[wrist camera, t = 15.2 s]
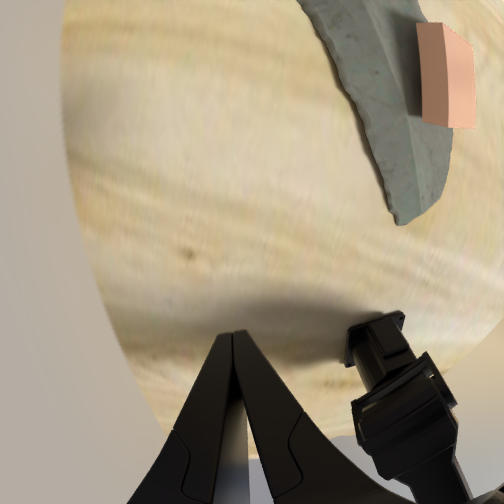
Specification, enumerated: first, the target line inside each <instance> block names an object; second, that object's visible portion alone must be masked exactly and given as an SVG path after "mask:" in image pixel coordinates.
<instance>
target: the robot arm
mask: <svg viewBox="0 0 504 504" xmlns="http://www.w3.org/2000/svg"><path fill="white" fill-rule="evenodd" d="M404 320H405V315H404V313H403V312H400V313H397V314H394V315H390V316H387V317H384V318H381V319H378V320H374V321H371V322H368V323H364V324H361V325H357V326H354V327H351V328H350V329H349V330H348V332H347V342H346V351H345V359H344V365H345V367H346V368H349V367H352V366H356V367H357V370H358V372H359V374H360V377H361V379H362V381H363V384H364V386H365V388H366V391H367V393H366V394H365V395H363V396H361V397H360V398H358V399H355V400H353V401H351V406H352V415H353V421H354V427H355V432H356V438H357V443H358V445H359V446H361V447H362V448H363V450H364V451H365V452H366V453H367V454H368V455H370V456H372V459H373V461H374V464H375V466H376V469H377V472H378V474H379V475H380V476H381V477H383V478H384V479H385V480H391V479H395V480H397V481H399V482H401V483H403V484H405V485H407V486H408V487H409V488H410V490H411V492H412V494H413V496H414V499H415V501H416V503H415V502H413V501H410V500H408V499H406V498H404V497H402V496H400V495H397V494H395V493H393V492H391V491H389V490H387V489H386V488H384V487H383V486H381V485H379V484H378V483H377V482H375V481H374V480H372V479H371V478H370V477H369V476H368V475H366V474H365V473H364V472H363V471H362V470H361V469H359V468H358V467H357V466H356V465H355V464H354V463H353V462H352V461H350V460H349V459H348V458H347V457H346V456H345V455H344V454H343V453H342V452H341V451H339V450H338V449H337V448H336V447H335V446H334V445H333V444H332V443H331V442H330V441H329V440H328V438H327V437H326V436H325V435H324V434H323V433H322V432H321V431H320V430H319V428H318V427H317V426H316V425H315V423H314V422H313V421H312V420H311V418H310V417H309V416H308V414H307V413H306V412H305V411H304V409H303V408H302V407H301V405H300V404H299V403H298V401H297V400H296V399H295V397H294V396H293V394H292V393H291V392H290V390H289V389H288V388H287V386H286V385H285V383H284V382H283V381H282V379H281V378H280V377H279V375H278V374H277V372H276V371H275V369H274V368H273V367H272V365H271V364H270V362H269V361H268V360H267V358H266V357H265V355H264V354H263V352H262V351H261V350H260V348H259V347H258V345H257V344H256V342H255V341H254V339H253V338H252V336H251V335H250V334H249V332H248V331H247V330H246V329H241V330H236V331H233V333H232V332H224V333H219V334H218V335H217V337H216V339H215V341H214V343H213V345H212V347H211V349H210V351H209V354H208V356H207V358H206V360H205V362H204V364H203V366H202V368H201V370H200V372H199V374H198V376H197V379H196V381H195V383H194V385H193V387H192V389H191V391H190V393H189V395H188V397H187V399H186V401H185V403H184V406H183V408H182V410H181V412H180V414H179V416H178V418H177V420H176V422H175V424H174V426H173V429H174V430H171V432H170V434H169V436H168V438H167V441H166V442H165V444H164V446H163V448H162V450H161V452H160V454H159V456H158V457H157V459H156V460H155V462H154V464H153V465H152V467H151V469H150V470H149V472H148V473H147V475H146V476H145V478H144V479H143V481H142V482H141V484H140V485H139V486H138V488H137V489H136V491H135V492H134V494H133V496H132V497H131V498H130V500H129V501H128V502H127V504H250V492H249V491H250V489H249V463H248V436H247V417H248V420H249V424H250V427H251V431H252V434H253V438H254V441H255V445H256V448H257V451H258V455H259V458H260V461H261V464H262V468H263V471H264V474H265V477H266V480H267V483H268V487H269V490H270V493H271V496H272V498H273V499H274V500H273V502H274V504H504V483H503V484H502V485H500V486H499V487H498V488H497V489H495V490H493V491H490V492H488V493H486V494H483V495H481V496H479V497H477V498H473V495H472V493H471V491H470V488H469V486H468V483H467V481H466V479H465V477H464V474H463V472H462V470H461V468H460V465H459V463H458V461H457V459H456V456H455V450H456V442H457V434H458V420H457V418H456V416H455V414H454V413H453V411H452V408H453V407H454V406H456V405H457V404H458V403H457V402H456V400H455V399H454V396H453V394H452V393H451V391H450V389H449V387H448V385H447V384H446V382H445V380H444V378H443V377H442V375H441V373H440V372H439V370H438V368H437V367H436V365H435V364H434V362H433V360H432V359H431V357H430V356H429V354H428V353H427V351H426V352H424V353H423V354H422V356H420V357H419V358H418V359H417V358H416V356H415V355H414V353H413V351H412V350H411V348H410V346H409V343H408V342H407V340H406V339H405V337H404V335H403V334H402V332H401V331H402V327H403V323H404ZM432 374H434V375H433V376H432V377H431V378H430V376H431V375H432Z"/></svg>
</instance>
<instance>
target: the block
mask: <svg viewBox="0 0 504 504" xmlns="http://www.w3.org/2000/svg"><path fill="white" fill-rule="evenodd" d="M416 28H417V35H418V44H419V53H420V65H421V81H422V122H425V123H430V124H434V125H439V126H443V127H447V128H473V129H475V117H476V91H475V69H474V57H473V48H472V45H471V44H470V43H469V42H468V41H466V40H465V39H464V38H463V37H461V36H460V35H459V34H457V33H456V32H455V31H453V30H452V29H450V28H449V27H448V26H446V25H445V24H443V23H416Z"/></svg>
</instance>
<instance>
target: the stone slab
mask: <svg viewBox="0 0 504 504" xmlns="http://www.w3.org/2000/svg"><path fill="white" fill-rule="evenodd" d="M297 2H298V3H299V4H300V5H301V6H302V8H303V10H304V11H305V13H306V14H307V15H308V16H309V17H310V18H311V20H312V23H313V25H314V27H315V29H316V30H317V31H318V32H319V34H320V36H321V38H322V39H323V40H324V41H325V43H326V45H327V48H328V50H329V52H330V54H331V56H332V58H333V60H334V62H335V64H336V66H337V70H338V74H339V77H340V80H341V82H342V84H343V87H344V89H345V90H346V91H347V92H348V93H349V95H350V96H351V99H352V100H353V101H354V102H355V104H356V106H357V110H358V113H359V115H360V117H361V119H362V120H363V122H364V126H365V134H366V136H367V138H368V141H369V145H370V148H371V151H372V153H373V155H374V158H375V161H376V163H377V165H378V167H379V169H380V172H381V175H382V177H383V179H384V188H385V190H386V195H387V200H388V202H387V203H388V206H389V207H390V208H389V212H391V213H392V214H394V216H395V219H396V224H397V226H402V225H407V224H408V223H409V222H411V221H412V220H413V219H414V218H416V217H418V216H420V215H422V214H423V213H425V212H426V211H427V210H428V209H429V208H430V207H431V206H432V205H433V204H434V203H435V202H437V201H438V200H439V199H440V197H441V194H442V191H443V189H444V186H445V183H446V179H447V174H448V170H449V162H450V153H451V150H452V138H453V128H447V127H443V126H439V125H434V124H430V123H425V122H422V81H421V65H420V53H419V44H418V35H417V28H416V23H428V21H427V19H426V18H425V17H424V15H423V14H422V11H421V9H420V6H419V3H418V0H297Z"/></svg>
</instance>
